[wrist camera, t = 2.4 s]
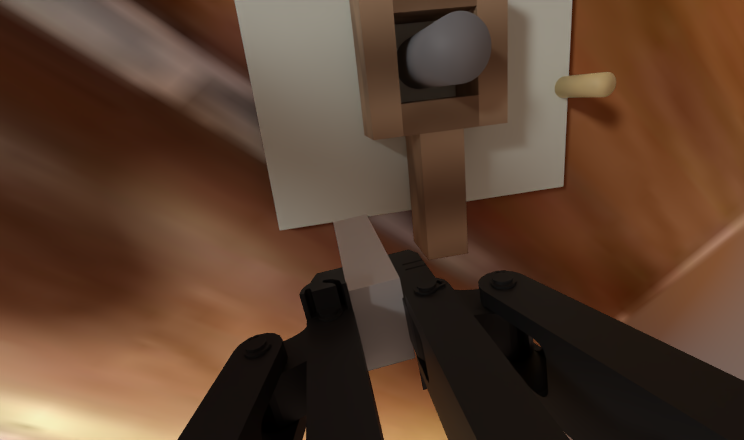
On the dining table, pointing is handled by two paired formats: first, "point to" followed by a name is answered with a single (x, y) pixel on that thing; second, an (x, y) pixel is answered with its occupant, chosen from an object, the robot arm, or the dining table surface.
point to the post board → (417, 82)
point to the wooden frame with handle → (429, 111)
